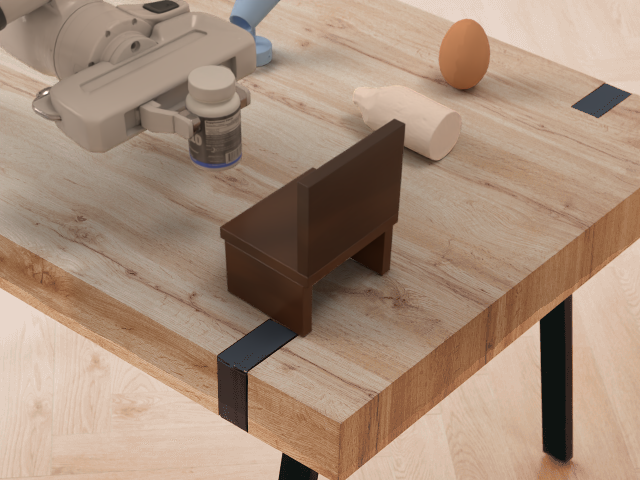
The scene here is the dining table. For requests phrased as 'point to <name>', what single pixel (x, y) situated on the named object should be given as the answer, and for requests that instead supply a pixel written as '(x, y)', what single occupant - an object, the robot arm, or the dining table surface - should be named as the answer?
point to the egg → (464, 54)
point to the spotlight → (254, 24)
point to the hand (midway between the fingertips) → (221, 114)
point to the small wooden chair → (317, 228)
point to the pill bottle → (215, 119)
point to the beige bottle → (411, 118)
